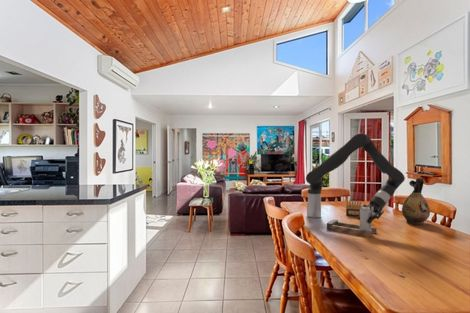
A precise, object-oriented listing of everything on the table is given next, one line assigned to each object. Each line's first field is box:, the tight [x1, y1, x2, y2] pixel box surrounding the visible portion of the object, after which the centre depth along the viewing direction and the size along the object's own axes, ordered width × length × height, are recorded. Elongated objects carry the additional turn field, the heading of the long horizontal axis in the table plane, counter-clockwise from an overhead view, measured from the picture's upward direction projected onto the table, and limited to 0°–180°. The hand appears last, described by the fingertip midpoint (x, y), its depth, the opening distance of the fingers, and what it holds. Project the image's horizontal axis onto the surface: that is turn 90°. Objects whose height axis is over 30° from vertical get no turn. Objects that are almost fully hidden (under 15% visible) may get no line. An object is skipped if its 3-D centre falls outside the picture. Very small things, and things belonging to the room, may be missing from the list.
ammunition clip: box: [345, 199, 363, 218], centre depth 196 cm, size 11×2×12 cm, turn 65°
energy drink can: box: [359, 207, 372, 231], centre depth 152 cm, size 6×6×15 cm
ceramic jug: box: [401, 177, 431, 225], centre depth 175 cm, size 17×15×30 cm
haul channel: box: [326, 218, 378, 238], centre depth 157 cm, size 25×12×4 cm, turn 50°
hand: (363, 220), depth 151 cm, fingers open, 7 cm apart
